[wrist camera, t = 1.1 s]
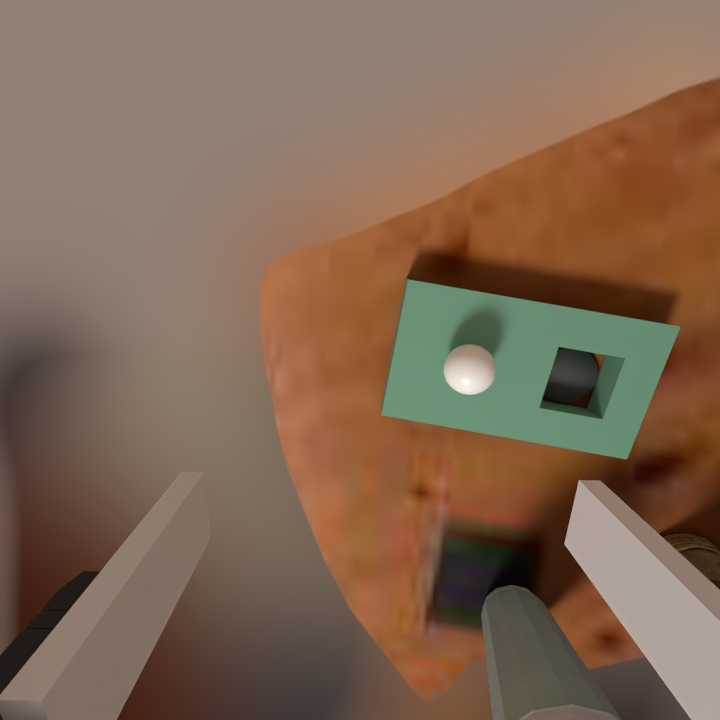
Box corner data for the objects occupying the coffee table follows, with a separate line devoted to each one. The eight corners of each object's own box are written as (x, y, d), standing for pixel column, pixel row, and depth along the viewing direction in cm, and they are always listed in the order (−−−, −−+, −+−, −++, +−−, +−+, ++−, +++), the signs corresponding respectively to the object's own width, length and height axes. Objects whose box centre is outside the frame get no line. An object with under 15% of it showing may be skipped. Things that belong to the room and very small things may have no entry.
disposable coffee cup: (490, 656, 41) (548, 866, 27) (441, 590, 39) (475, 778, 25) (577, 619, 39) (690, 826, 25) (530, 549, 37) (622, 727, 23)
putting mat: (657, 322, 31) (680, 326, 29) (609, 445, 34) (626, 459, 32) (406, 278, 31) (408, 279, 29) (381, 404, 34) (381, 414, 32)
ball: (493, 344, 30) (509, 355, 26) (481, 389, 31) (495, 406, 27) (445, 336, 30) (455, 346, 26) (435, 380, 31) (442, 397, 27)
